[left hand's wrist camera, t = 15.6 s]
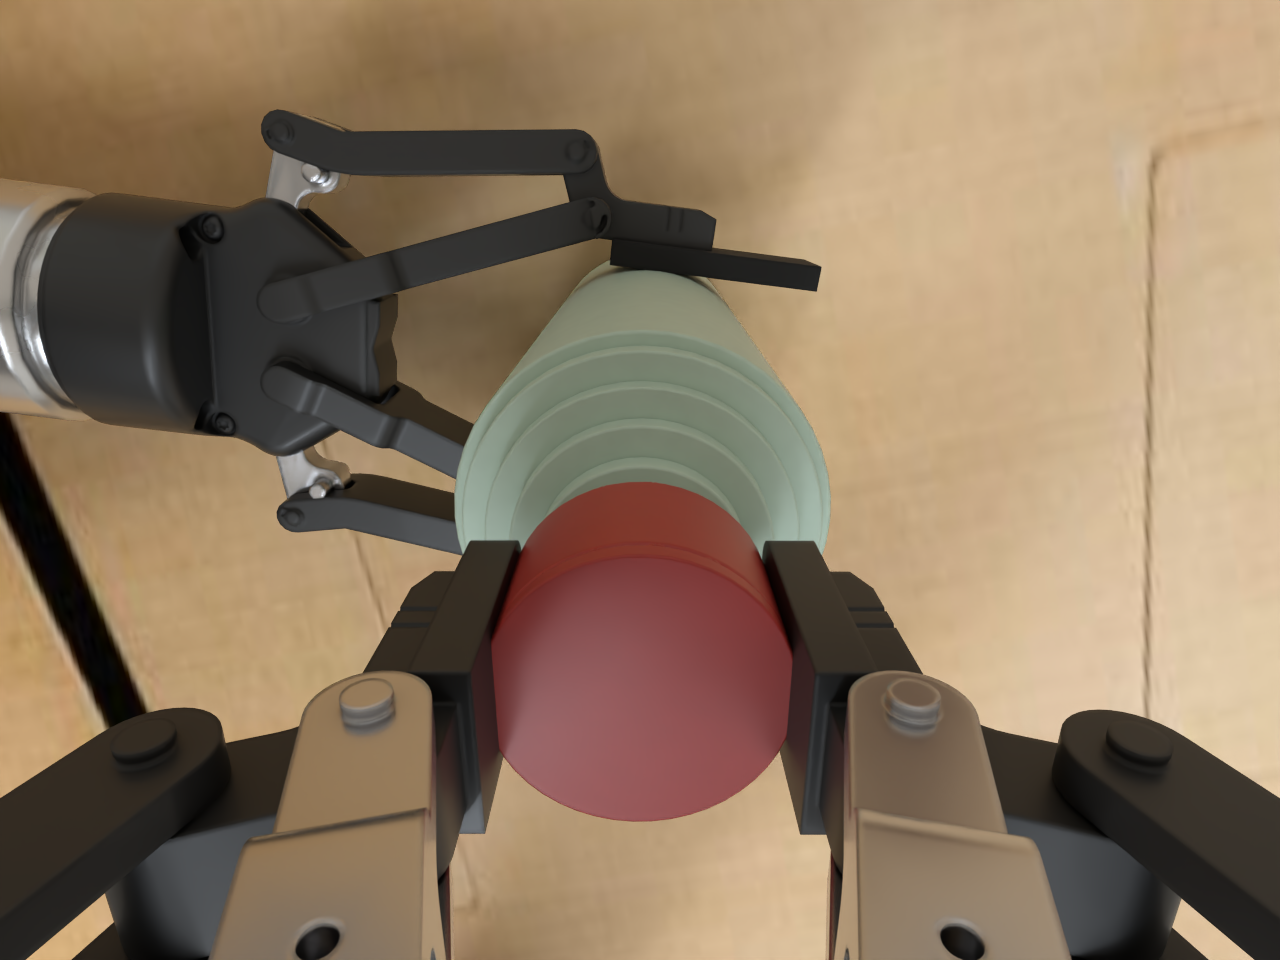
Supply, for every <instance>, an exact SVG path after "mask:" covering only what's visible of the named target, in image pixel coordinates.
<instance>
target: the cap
mask: <svg viewBox="0 0 1280 960" xmlns="http://www.w3.org/2000/svg"><path fill="white" fill-rule="evenodd" d="M491 651H492V664H493V676H494V689H495V702H496V715H497V728H498V741H499V750H500V752H501V753H502V755H503V757H504V758H505V759H506V760H507V761H508V763H509V764H510V765H511V766H512V768H513V769H514V770H515V771H516V772H517V773H518V774H519V775H520V776H521V777H522V778H523V779H524V780H525V781H526V782H528V783H529V784H530V785H532V786H533V787H534V788H536V789H537V790H538V791H540V792H541V793H542V794H544V795H546V796H548V797H549V798H551V799H553V800H555V801H556V802H558V803H560V804H562V805H565V806H567V807H569V808H572V809H574V810H576V811H580V812H583V813H586V814H589V815H593V816H597V817H602V818H607V819H612V820H622V821H658V820H666V819H673V818H677V817H682V816H686V815H690V814H693V813H696V812H699V811H702V810H705V809H708V808H710V807H712V806H714V805H717V804H719V803H721V802H723V801H725V800H727V799H728V798H730V797H732V796H733V795H735V794H736V793H738V792H740V791H741V790H742V789H744V788H745V787H746V786H747V785H749V784H750V783H751V782H753V781H754V780H755V779H756V778H757V777H758V776H759V775H760V774H761V773H762V772H763V771H764V770H765V769H766V768H767V767H768V765H769V764H770V763H771V762H772V760H773V759H774V758H775V756H776V755H777V754H778V752H779V750H780V749H781V747H782V745H783V743H784V741H785V740H786V736H787V725H788V712H789V700H790V687H791V675H792V662H793V652H792V649H791V646H790V642H789V640H788V637H787V633H786V630H785V627H784V624H783V621H782V618H781V615H780V612H779V609H778V606H777V603H776V600H775V597H774V594H773V591H772V588H771V585H770V582H769V578H768V575H767V572H766V569H765V566H764V563H763V561H762V558H761V556H760V554H759V551H758V549H757V547H756V546H755V544H754V542H753V541H752V539H751V537H750V536H749V534H748V533H747V532H746V531H745V530H744V528H743V527H742V526H741V525H740V523H739V522H738V521H736V520H735V519H734V518H733V517H732V516H731V515H730V514H729V513H728V512H727V511H725V510H724V509H722V508H721V507H720V506H718V505H717V504H715V503H714V502H712V501H710V500H708V499H707V498H705V497H703V496H701V495H699V494H697V493H694V492H691V491H689V490H686V489H683V488H680V487H676V486H671V485H667V484H662V483H657V482H654V483H653V482H626V483H619V484H611V485H606V486H602V487H599V488H596V489H593V490H590V491H588V492H585V493H583V494H581V495H578V496H576V497H574V498H573V499H571V500H569V501H567V502H566V503H564V504H562V505H561V506H560V507H558V508H557V509H556V510H554V511H553V512H552V513H550V514H549V515H548V516H547V517H546V518H545V519H544V520H543V521H542V522H541V523H540V524H539V525H538V526H537V527H536V529H535V530H534V531H533V533H532V534H531V535H530V537H529V538H528V539H527V541H526V543H525V545H524V546H523V548H522V550H521V552H520V554H519V557H518V560H517V563H516V566H515V569H514V572H513V575H512V578H511V581H510V584H509V587H508V590H507V593H506V596H505V599H504V602H503V605H502V608H501V611H500V614H499V617H498V620H497V623H496V627H495V629H494V632H493V635H492V638H491Z"/></svg>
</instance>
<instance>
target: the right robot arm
mask: <svg viewBox="0 0 1280 960" xmlns="http://www.w3.org/2000/svg"><path fill="white" fill-rule="evenodd" d="M261 133H262V136H263V138H264V141H265V143H266V144H267V145H268V146H269V147H270V149H272V150H274V152H273V157H272V163H271V169H270V174H269V180H268V186H267V192H266V197H265V198H259V199H256V200H253V201H251V202H249V203H247V204H245V205H243V206H240V207H236V208H231V207H222V206H214V205H206V204H199V203H191V202H183V201H175V200H167V199H159V198H152V197H144V196H136V195H128V194H120V193H105V194H100V195H96V194H94V193H92V192H90V191H88V190H86V189H82V188H74V187H66V186H58V185H50V184H42V183H34V182H26V181H19V180H11V179H3V178H0V412H7V413H15V414H23V415H31V416H38V417H46V418H54V419H62V420H73V421H86V420H90V419H94V420H97V421H99V422H101V423H105V424H110V425H118V426H126V427H135V428H144V429H152V430H161V431H170V432H178V433H187V434H196V435H206V436H225V437H234V438H238V439H241V440H244V441H246V442H249V443H251V444H252V445H254V446H256V447H257V448H259V449H261V450H262V451H264V452H266V453H268V454H271V455H274V456H276V458H277V462H278V465H279V469H280V473H281V476H282V480H283V484H284V488H285V491H286V495H287V500H286V501H285V502H283V503H282V504H281V505H280V506H279V508H278V510H277V519H278V521H279V523H280V524H281V525H282V526H283V527H284V528H285V529H287V530H289V531H291V532H308V531H320V530H331V529H343V528H346V529H350V530H355V531H359V532H363V533H368V534H372V535H376V536H381V537H385V538H389V539H394V540H398V541H402V542H407V543H411V544H415V545H420V546H424V547H428V548H433V549H437V550H441V551H446V552H450V553H454V554H458V555H463V553H462V550H461V546H460V543H459V540H458V534H457V528H456V521H455V502H454V493H451V492H447V491H443V490H438V489H434V488H430V487H426V486H422V485H417V484H413V483H409V482H405V481H401V480H396V479H392V478H388V477H384V476H378V475H373V474H350V472H349V467H348V466H347V465H346V464H345V463H342V462H338V461H332V460H327V459H325V458H323V457H321V456H320V455H319V454H318V453H317V451H316V450H315V448H314V445H315V444H317V443H319V442H321V441H322V440H324V439H326V438H328V437H329V436H331V435H333V434H335V433H336V432H338V431H340V430H341V431H343V432H346V433H348V434H350V435H352V436H354V437H356V438H358V439H360V440H362V441H364V442H366V443H368V444H370V445H373V446H375V447H379V448H391V449H394V450H397V451H399V452H401V453H403V454H405V455H407V456H409V457H411V458H413V459H416V460H418V461H420V462H422V463H424V464H426V465H428V466H430V467H432V468H434V469H436V470H438V471H440V472H442V473H444V474H446V475H448V476H451V477H453V478H455V479H456V477H457V470H458V466H459V463H460V459H461V456H462V452H463V449H464V446H465V444H466V442H467V439H468V437H469V435H470V432H471V430H472V428H473V426H474V424H472V423H470V422H468V421H466V420H464V419H462V418H460V417H458V416H456V415H454V414H452V413H450V412H448V411H446V410H444V409H442V408H440V407H438V406H436V405H434V404H432V403H430V402H428V401H426V400H425V399H424V398H423V397H422V395H421V394H420V393H419V392H418V391H416V390H414V389H412V388H410V387H409V386H407V385H405V384H403V383H401V382H399V381H397V360H396V356H395V352H394V348H393V344H392V339H391V338H392V334H393V330H394V327H395V324H396V320H397V317H398V294H393V293H395V292H399V291H402V290H405V289H408V288H412V287H416V286H419V285H423V284H427V283H431V282H434V281H438V280H442V279H446V278H449V277H453V276H457V275H461V274H464V273H468V272H472V271H475V270H479V269H483V268H487V267H490V266H494V265H498V264H502V263H505V262H509V261H513V260H517V259H520V258H524V257H528V256H531V255H535V254H539V253H543V252H546V251H550V250H554V249H558V248H561V247H565V246H569V245H573V244H576V243H580V242H584V241H588V240H591V239H595V238H596V239H598V238H601V239H608V240H612V248H611V257H610V265H612V266H620V267H628V268H636V269H644V270H652V271H661V272H667V273H675V274H683V275H691V276H699V277H706V278H714V279H722V280H730V281H738V282H746V283H753V284H761V285H769V286H777V287H785V288H793V289H800V290H808V291H816V292H817V287H818V282H819V277H820V272H821V267H820V266H818V265H816V264H813V263H811V262H808V261H806V260H803V259H795V258H787V257H780V256H772V255H764V254H756V253H749V252H741V251H733V250H725V249H718V248H712V246H713V239H714V232H715V226H716V219H715V218H713V217H711V216H709V215H708V214H706V213H704V212H703V211H701V210H697V209H689V208H681V207H674V206H666V205H659V204H651V203H643V202H636V201H628V200H624V199H621V198H619V197H618V196H616V195H615V194H614V193H613V192H612V191H611V189H610V188H609V186H608V183H607V181H606V176H605V172H604V168H603V163H602V159H601V154H600V149H599V146H598V145H597V143H596V142H595V140H594V139H593V138H592V137H591V136H590V135H589V134H587V133H586V132H585V131H582V130H577V129H560V130H462V131H363V132H354V131H351V130H348V129H346V128H343V127H340V126H338V125H335V124H332V123H330V122H327V121H324V120H321V119H319V118H315V117H311V116H306V115H302V114H297V113H293V112H289V111H284V110H274V111H271V112H269V113H268V114H267V115H266V116H265V117H264V119H263V121H262V124H261ZM350 175H364V176H382V177H422V176H521V175H563V177H564V181H565V185H566V189H567V193H568V197H569V201H570V202H568V203H565V204H561V205H557V206H554V207H550V208H546V209H543V210H539V211H535V212H532V213H528V214H524V215H521V216H517V217H513V218H510V219H506V220H502V221H499V222H495V223H491V224H488V225H484V226H480V227H477V228H473V229H469V230H466V231H462V232H458V233H455V234H451V235H447V236H444V237H440V238H436V239H433V240H429V241H425V242H422V243H418V244H414V245H411V246H407V247H403V248H400V249H396V250H392V251H389V252H385V253H381V254H377V255H374V256H370V257H365V256H363V255H362V254H361V253H360V252H359V251H358V250H357V249H355V248H354V247H353V246H352V245H351V244H350V243H348V242H347V241H346V240H345V239H344V238H343V237H341V236H340V235H339V234H338V233H337V232H336V231H335V230H333V229H332V228H331V227H330V226H329V225H328V224H326V223H325V222H324V221H323V220H322V219H321V218H320V217H318V216H317V215H316V214H315V213H314V212H313V211H311V210H310V209H309V208H308V207H309V204H310V201H311V200H312V198H313V197H314V196H316V195H317V194H319V193H338V192H341V191H342V190H344V189H345V188H346V186H347V185H348V182H349V180H350Z"/></svg>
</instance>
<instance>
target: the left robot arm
mask: <svg viewBox="0 0 1280 960" xmlns="http://www.w3.org/2000/svg"><path fill="white" fill-rule="evenodd" d="M520 552H521V546H520V542H519V541H518V540H471V541H470V542H469V543H468V545H467V547H466V549H465V551H464V553H463V556H462V558H461V560H460V562H459V564H458V566H457V568H456V570H455V571H434V572H433V573H432V574H430V575H429V576H427V577H426V578H425V579H423V580H422V581H420V582H419V583H418V584H416V585H415V586H413V587H412V588H411V589H410V591H409V593H408V595H407V596H406V598H405V600H404V602H403V603H402V605H401V607H400V611H398V612H397V614H396V616H395V617H394V619H393V621H392V623H391V627H389V628H388V630H387V631H386V633H385V635H384V637H383V638H382V640H381V642H380V644H379V645H378V647H377V649H376V651H375V652H374V654H373V656H372V658H371V659H370V661H369V663H368V665H367V666H366V668H365V670H364V672H363V673H361V674H358V675H354V676H351V677H348V678H345V679H343V680H340V681H338V682H336V683H334V684H332V685H330V686H329V687H327V688H325V689H324V690H322V691H321V692H320V693H318V694H317V695H316V696H315V697H314V698H313V699H312V700H311V701H310V702H309V703H308V705H307V706H306V708H305V709H304V712H303V714H302V718H301V721H300V725H299V727H296V728H293V729H290V730H285V731H281V732H277V733H273V734H268V735H263V736H258V737H253V738H248V739H244V740H239V741H234V742H229V743H225V738H224V734H223V730H222V726H221V723H220V721H219V720H218V718H217V717H216V716H214V715H213V714H212V713H210V712H207V711H205V710H201V709H196V708H171V709H164V710H158V711H154V712H150V713H146V714H143V715H140V716H136V717H134V718H131V719H129V720H126V721H123V722H121V723H119V724H117V725H115V726H113V727H111V728H109V729H107V730H106V731H104V732H102V733H101V734H99V735H97V736H96V737H94V738H93V739H91V740H90V741H88V742H87V743H85V744H83V745H82V746H80V747H79V748H77V749H76V750H74V751H73V752H71V753H70V754H68V755H66V756H65V757H63V758H62V759H60V760H59V761H57V762H56V763H54V764H52V765H51V766H49V767H48V768H46V769H45V770H43V771H42V772H40V773H39V774H37V775H35V776H34V777H32V778H31V779H29V780H28V781H26V782H25V783H23V784H22V785H20V786H18V787H17V788H15V789H14V790H12V791H11V792H9V793H8V794H6V795H5V796H3V797H1V798H0V960H26V959H27V958H28V957H29V956H31V955H32V954H33V953H34V952H35V951H36V950H38V949H39V948H40V947H41V946H42V945H44V944H45V943H46V942H47V941H48V940H50V939H51V938H52V937H53V936H54V935H56V934H57V933H58V932H59V931H60V930H61V929H63V928H64V927H65V926H66V925H67V924H69V923H70V922H71V921H72V920H73V919H75V918H76V917H77V916H78V915H79V914H80V913H82V912H83V911H84V910H85V909H86V908H88V907H89V906H90V905H91V904H92V903H94V902H95V901H96V900H97V899H98V898H100V897H101V896H102V895H103V894H104V893H105V895H106V898H107V901H108V905H109V908H110V911H111V914H112V917H113V920H114V923H113V924H111V925H110V926H109V927H108V928H107V929H106V930H105V931H103V932H102V933H101V934H100V935H99V936H98V937H97V938H96V939H94V940H93V941H92V942H91V943H90V944H89V945H88V946H87V947H85V948H84V949H83V950H82V951H81V952H80V953H79V954H77V955H76V956H75V957H74V958H73V959H72V960H454V921H453V881H452V872H451V863H450V862H451V859H452V857H453V854H454V850H455V847H456V843H457V839H458V836H459V834H485V831H486V827H487V823H488V819H489V815H490V811H491V806H492V802H493V798H494V794H495V790H496V785H497V781H498V777H499V773H500V769H501V765H502V760H503V755H502V753H501V752H500V750H499V741H498V728H497V715H496V702H495V689H494V676H493V664H492V651H491V638H492V635H493V632H494V629H495V627H496V623H497V620H498V617H499V614H500V611H501V608H502V605H503V602H504V599H505V596H506V593H507V590H508V587H509V584H510V581H511V578H512V575H513V572H514V569H515V566H516V563H517V560H518V557H519V554H520ZM762 561H763V563H764V566H765V569H766V572H767V575H768V578H769V582H770V585H771V588H772V591H773V594H774V597H775V600H776V603H777V606H778V609H779V612H780V615H781V618H782V621H783V624H784V627H785V630H786V633H787V637H788V640H789V642H790V646H791V649H792V652H793V662H792V675H791V687H790V700H789V712H788V725H787V736H786V740H785V741H784V743H783V745H782V747H781V749H780V754H781V758H782V762H783V766H784V770H785V775H786V779H787V783H788V787H789V791H790V795H791V799H792V803H793V807H794V811H795V815H796V819H797V823H798V827H799V831H800V835H827V838H828V842H829V845H830V848H831V854H830V863H829V872H828V881H827V922H826V960H1208V959H1207V958H1206V957H1205V956H1204V955H1203V954H1201V953H1200V952H1199V951H1198V950H1197V949H1196V948H1195V947H1193V946H1192V945H1191V944H1190V943H1189V942H1188V941H1187V940H1186V939H1184V938H1183V937H1182V936H1181V935H1180V934H1179V933H1178V932H1177V931H1175V930H1174V929H1173V928H1172V926H1173V923H1174V920H1175V916H1176V913H1177V910H1178V907H1179V904H1180V901H1181V898H1182V899H1183V900H1184V901H1185V902H1186V903H1188V904H1189V905H1190V906H1191V907H1192V908H1194V909H1195V910H1196V911H1197V912H1198V913H1200V914H1201V915H1202V916H1203V917H1204V918H1205V919H1207V920H1208V921H1209V922H1210V923H1211V924H1213V925H1214V926H1215V927H1216V928H1217V929H1219V930H1220V931H1221V932H1222V933H1223V934H1225V935H1226V936H1227V937H1228V938H1229V939H1230V940H1232V941H1233V942H1234V943H1235V944H1236V945H1238V946H1239V947H1240V948H1241V949H1242V950H1244V951H1245V952H1246V953H1247V954H1248V955H1249V956H1251V957H1252V958H1253V959H1254V960H1280V798H1279V797H1277V796H1275V795H1274V794H1272V793H1271V792H1269V791H1268V790H1266V789H1265V788H1263V787H1262V786H1260V785H1258V784H1257V783H1255V782H1254V781H1252V780H1251V779H1249V778H1248V777H1246V776H1245V775H1243V774H1241V773H1240V772H1238V771H1237V770H1235V769H1234V768H1232V767H1231V766H1229V765H1228V764H1226V763H1224V762H1223V761H1221V760H1220V759H1218V758H1217V757H1215V756H1214V755H1212V754H1211V753H1209V752H1207V751H1206V750H1204V749H1203V748H1201V747H1200V746H1198V745H1197V744H1195V743H1193V742H1192V741H1190V740H1189V739H1187V738H1186V737H1184V736H1182V735H1181V734H1179V733H1177V732H1176V731H1174V730H1172V729H1170V728H1168V727H1166V726H1164V725H1162V724H1160V723H1157V722H1154V721H1152V720H1149V719H1147V718H1143V717H1140V716H1137V715H1133V714H1129V713H1125V712H1119V711H1112V710H1087V711H1082V712H1078V713H1076V714H1073V715H1071V716H1070V717H1069V718H1067V719H1066V720H1065V722H1064V723H1063V724H1062V728H1061V732H1060V736H1059V740H1058V743H1053V742H1048V741H1043V740H1038V739H1034V738H1029V737H1024V736H1019V735H1014V734H1009V733H1005V732H1001V731H997V730H994V729H991V728H988V727H985V726H982V725H980V721H979V717H978V714H977V712H976V709H975V708H974V706H973V705H972V703H971V702H970V701H969V700H968V699H967V698H966V697H965V696H964V695H963V694H962V693H960V692H959V691H958V690H956V689H955V688H953V687H951V686H950V685H948V684H946V683H944V682H942V681H940V680H937V679H935V678H932V677H929V676H926V675H923V673H922V672H921V670H920V668H919V666H918V665H917V663H916V661H915V660H914V658H913V656H912V654H911V653H910V651H909V649H908V647H907V646H906V644H905V642H904V641H903V639H902V637H901V635H900V634H899V632H898V630H897V629H896V628H894V623H893V622H892V620H891V618H890V617H889V615H888V613H887V612H885V611H884V606H883V605H882V603H881V601H880V599H879V598H878V596H877V594H876V592H875V591H874V589H873V588H872V587H870V586H869V585H868V584H866V583H865V582H863V581H862V580H861V579H859V578H858V577H856V576H855V575H853V574H852V573H851V572H830V571H829V569H828V567H827V565H826V563H825V561H824V559H823V557H822V555H821V553H820V551H819V549H818V547H817V545H816V543H815V542H814V541H765V543H764V546H763V552H762Z"/></svg>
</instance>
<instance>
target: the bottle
mask: <svg viewBox="0 0 1280 960" xmlns="http://www.w3.org/2000/svg"><path fill="white" fill-rule="evenodd" d="M626 482H653V483H654V482H657V483H662V484H667V485H671V486H676V487H680V488H683V489H686V490H689V491H691V492H694V493H697V494H699V495H701V496H703V497H705V498H707V499H708V500H710V501H712V502H714V503H715V504H717V505H718V506H720V507H721V508H722V509H724V510H725V511H727V512H728V513H729V514H730V515H731V516H732V517H733V518H734V519H735V520H736V521H738V522H739V523H740V525H741V526H742V527H743V528H744V530H745V531H746V532H747V533H748V534H749V536H750V537H751V539H752V541H753V542H754V544H755V546H756V547H757V549H758V551H759V554H760V556H761V558H762V552H763V546H764V543H765V541H814V542H815V543H816V545H817V547H818V549H819V551H820V553H821V555H822V554H823V550H824V547H825V544H826V540H827V535H828V529H829V523H830V504H831V495H830V486H829V478H828V471H827V468H826V464H825V460H824V456H823V453H822V450H821V447H820V445H819V443H818V440H817V438H816V436H815V433H814V431H813V429H812V427H811V425H810V424H809V422H808V420H807V419H806V417H805V415H804V414H803V412H802V411H801V409H800V407H799V406H798V404H797V403H796V402H795V400H794V399H793V397H792V396H791V395H790V393H789V392H788V390H787V389H786V387H785V386H784V385H783V383H782V382H781V380H780V379H779V378H778V376H777V375H776V373H775V372H774V370H773V369H772V368H771V366H770V365H769V363H768V362H767V361H766V359H765V358H764V356H763V355H762V353H761V352H760V351H759V349H758V348H757V346H756V345H755V344H754V342H753V341H752V339H751V338H750V336H749V335H748V334H747V332H746V331H745V329H744V328H743V327H742V325H741V324H740V322H739V321H738V319H737V318H736V317H735V315H734V314H733V312H732V311H731V310H730V308H729V307H728V305H727V304H726V302H725V301H724V300H723V298H722V297H721V295H720V294H719V293H718V291H717V290H716V288H715V287H714V286H713V285H712V283H711V282H710V281H709V280H708V279H707V278H706V277H699V276H691V275H683V274H675V273H667V272H661V271H652V270H644V269H636V268H628V267H620V266H612V265H610V260H609V261H607V262H605V263H603V264H601V265H599V266H598V267H596V268H595V269H593V270H592V271H591V272H589V273H588V274H587V275H586V276H585V277H584V278H583V279H582V280H581V281H580V282H579V284H578V285H577V286H576V287H575V288H574V290H573V291H572V292H571V294H570V295H569V296H568V298H567V299H566V300H565V302H564V303H563V304H562V306H561V307H560V308H559V310H558V311H557V312H556V314H555V315H554V316H553V318H552V319H551V320H550V322H549V323H548V324H547V326H546V327H545V328H544V330H543V331H542V332H541V334H540V335H539V336H538V337H537V339H536V340H535V341H534V343H533V344H532V345H531V347H530V348H529V349H528V351H527V352H526V353H525V355H524V356H523V357H522V359H521V360H520V361H519V363H518V364H517V365H516V367H515V368H514V369H513V371H512V372H511V373H510V375H509V376H508V377H507V379H506V380H505V381H504V383H503V384H502V385H501V387H500V388H499V389H498V391H497V392H496V393H495V395H494V396H493V397H492V399H491V400H490V401H489V403H488V404H487V405H486V407H485V408H484V410H483V411H482V413H481V415H480V416H479V418H478V419H477V421H476V423H475V424H474V426H473V428H472V430H471V432H470V435H469V437H468V439H467V442H466V444H465V446H464V449H463V452H462V456H461V459H460V463H459V466H458V470H457V477H456V485H455V493H454V502H455V521H456V528H457V534H458V540H459V543H460V546H461V550H462V553H464V551H465V549H466V547H467V545H468V543H469V542H470V541H471V540H518V541H519V542H520V546H521V550H522V548H523V546H524V545H525V543H526V541H527V539H528V538H529V537H530V535H531V534H532V533H533V531H534V530H535V529H536V527H537V526H538V525H539V524H540V523H541V522H542V521H543V520H544V519H545V518H546V517H547V516H548V515H549V514H550V513H552V512H553V511H554V510H556V509H557V508H558V507H560V506H561V505H562V504H564V503H566V502H567V501H569V500H571V499H573V498H574V497H576V496H578V495H581V494H583V493H585V492H588V491H590V490H593V489H596V488H599V487H602V486H606V485H611V484H619V483H626Z"/></svg>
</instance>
